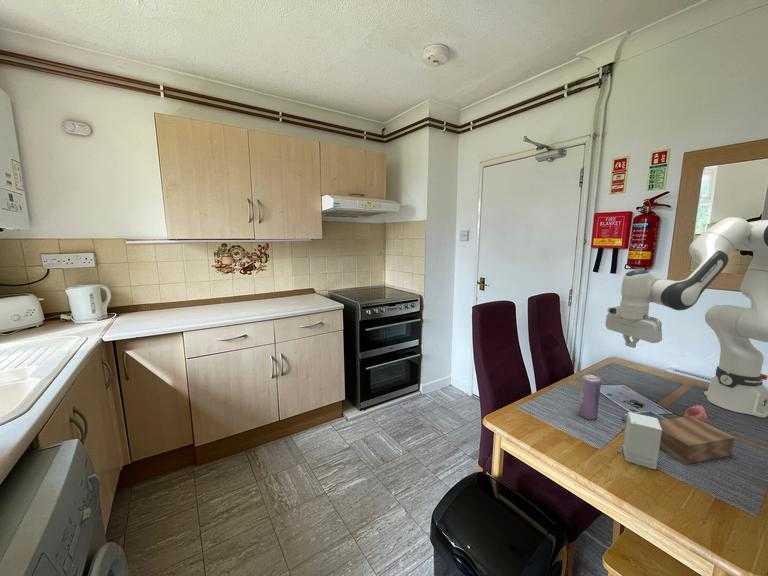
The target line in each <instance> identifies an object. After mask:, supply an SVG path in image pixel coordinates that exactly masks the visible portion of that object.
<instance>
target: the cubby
mask: <svg viewBox="0 0 768 576" xmlns="http://www.w3.org/2000/svg"><path fill="white" fill-rule="evenodd" d="M666 419H667V420H661V421H659V424H660V426H661V429H662V434H661V440H660V447H659V450H662V451H664V452H665V453H667V454H668V455H670V456H672V457H673V458H675V459H676V460H678V461H680V462H681V463H683V464H685V465H689V464H693V463H698V462H699V463H700V462H704V461H708V460H709V461H710V460H713V459H718V458H719V457H720V458H723V457H724V456H725V457H730V456H732V454H733V449H734V444H735V438H736V437H735V436H733V435H730V434H729V433H727V432H724V431H723V430H720V429H718V428H716V427H714V426H712V425H710V424H708V423H706V422H702V421H700V420H698V419H696V418H694V417H692V416H687V417H685V416H681V417H676V418H666ZM720 458H719V459H720Z"/></svg>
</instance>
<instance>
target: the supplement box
mask: <svg viewBox="0 0 768 576" xmlns="http://www.w3.org/2000/svg"><path fill="white" fill-rule="evenodd" d="M627 414H628V415H627V422H625V424H626V425H625V431H624V436H623V437H624V439H623V446H622V450H623V455H624V460H625V462H629V463H632V464H635V465H638V466H641V467H646V468H649V469H652V470H657V468H658V467H657V465H658V460H659V454H660V448H659V447H660V440H661V434H662V429H661V426H660V424H659V421H658V419H657V418H654V417H649V416H645V415H640V414H636V413H635V412H631V411H628V412H627Z"/></svg>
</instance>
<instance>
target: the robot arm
mask: <svg viewBox="0 0 768 576" xmlns="http://www.w3.org/2000/svg"><path fill="white" fill-rule="evenodd" d="M734 251H747V252H749V251H750V252H752V254H753V256H752V260H751V261H750V262H749V263H750V264H749V265H748V267H747V270H746V272H745V274H744V277H743V278H742V282H741V285H740V286H739V289H740V292H741V294H742V295H744V296H745V297H746V298H748V299H749V300H750V302H751V303H750V308H749V307H742V306H737V305H731V304H715V305H712V306H711V307H709V308H708V309H707V311H706V312H705V315H704V320H705V323H706V325H707V326H708V327H710V329H712V331H713V332H714V333H715V335H716V337H717V340H718V342H719V346H720V347H719V348H720V353H719V362H718V366H717V367H716V369H715V374H714V375H715V376H712V377H711V379H710V381H709V385H708V389H707V390H705V391H704V392H703V394H704V396H705V397H706V400H707V401H709V402H710V403H711V404H713V405H715V406H717V407H720V408H722V409H724V410H729V411H731V412H734V413H740V414H745V415H751V416H753V417H754V416H755V417H759V418H763V419H764V418H767V417H768V388H767V387H766V386H765V385H764V383H763V381H766V380H768V375H767V374H764V373H762V369H763V364H764V355H763V353H762V352H761V351H760V350H759V349H757V348H756V347H755V346H754V345H753V344H752V342H751V340H754V341H759V342H764V343H768V219H759V220H755V221H747V220H745V218H744V219H743V217H737V216H731V217H726V218H724V219H722V220H720V221H718V222H717V223H715V224H713V225H712V226H710V227H709V228H707V229H706V230H704V231H703V232H702V233H701V234H700V235H698V236H697V237H696V238H695V239H693V241H692V242H691V243H690V245H689V247H688V252H689V255H690V257H691V258H692V260H694V261H695V262H696V263H697V264H699V265H698V266H697V267H696V268H695V269H694V271H692V273H691V274H689V275H688V277H687V278H685V279H682V280H672V279H668V278H662V277H659V276H657V275H654V273H651V272H650V270H645V269H636V270H631V271H628V272H626V273H625V274H624V276H623V279H622V282H621V290H620V294H621V300H620V303H619V305H618V306H611V307H608V308H607V310H606V311H607V314H606V318H605V328H606V329H607V330H610V331H613V332H615V333H618V334H622V338H623V339H624V342H625V344H624V345H625V346H626V347H629V348H632V349H635V348H636V347H637V344H638V342H639V341H640V340H641V341H645V342H648V343H650V344H658V343H660V342H662V340H663V328H662V327H663V326H662V325H663V322H662V321H661V320H659V318H658V317H654V316H650V315H649V311H650V310H649V309H650V303H654V304H657V305H661V306H663V307H667V308H669V309H672V310H675V311H685V310H688V309H690V308H692V307H693V306H694V305H696V303H697V302H698V301H699V298H700V297H701V295H702V294H703V292H705V290H706V289H707V288H708V287H709V286H710V285H711V284H712V283H713V281H714V280H716V278H717V277H718V276H719V275H720V274H721V273H722V272H723V270H724V269H725V268H726V267H727V265H728V263H729V256H730V255H731V254H732V253H734ZM630 338H631V339H630ZM750 339H751V340H750ZM631 340H632V341H631Z"/></svg>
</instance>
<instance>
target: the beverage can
mask: <svg viewBox="0 0 768 576" xmlns="http://www.w3.org/2000/svg"><path fill="white" fill-rule="evenodd" d="M601 387H602V379H601V378H600V377H599V376H596V375H592V374H584V375H582V378H581V386H580V393H579V401H578V402H579V404H578V414H579V416H580V417H582V418H585V419H587V420H595V419H597V418H598V415H599V414H598V413H599V405H600V395H601Z"/></svg>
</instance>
